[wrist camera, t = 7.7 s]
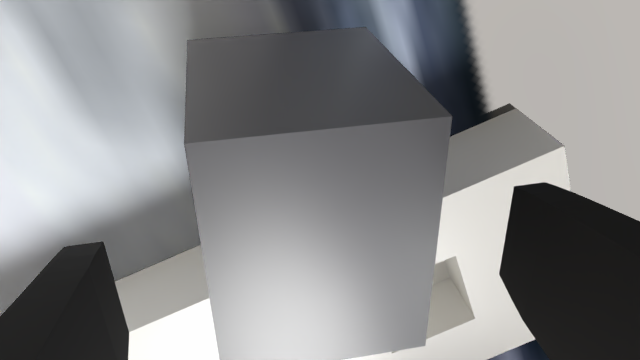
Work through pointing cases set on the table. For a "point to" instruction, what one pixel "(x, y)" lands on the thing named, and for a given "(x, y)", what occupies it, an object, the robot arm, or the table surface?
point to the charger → (314, 193)
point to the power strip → (450, 265)
